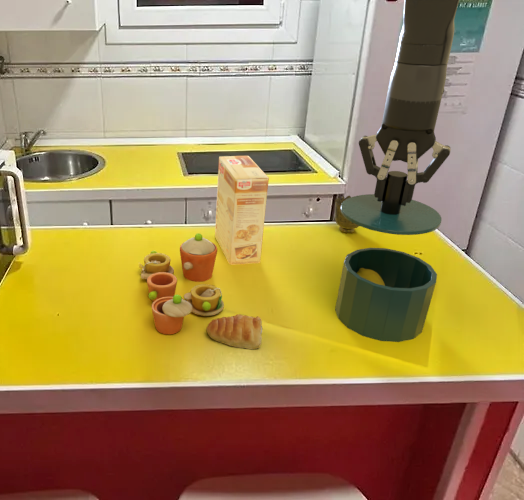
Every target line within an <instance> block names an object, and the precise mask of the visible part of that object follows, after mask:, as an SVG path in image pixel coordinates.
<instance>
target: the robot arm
mask: <svg viewBox="0 0 524 500" xmlns="http://www.w3.org/2000/svg"><path fill="white" fill-rule="evenodd" d="M459 3H460V0H404V2H403V17H402V18H403V19H402V20H403V21H402V26H401V30H400V33H399V34H400V35H399V39H398V43H397V48H396V56H395V61H394V65H393V67H392V71H391V74H390V77H389V82H388V87H387V93H386V99H385V103H384V109H383V114H382V120H381V126H380V128H379V129H378V131H377V132H376V134H372V135H369V136H368V135H363V136H362V137H361V138H360V139H359V140H358V146H359V150H360V154H361V157H362V161H363V164H364V167H365V172H366V173H367V174H368V175H369V176H370V175H371V176H374V177H375V179H376V183H375V189H374V192H373V194H374V195H375V197H376V198H378V200H377V201H379V202H382V200H383V195H384V189H385V184H386V179H387V174H388V172H389V170H390V168H391V165H392V163H393V161H394V162H396V161H397V162H398V161H401V162H403V163H407V165H406V167H407V175H408V176H407V181H406V184H405V188H404V192H403V197H402V202H401V205H403V206H406V203H410V202H411V200H413V197H414V192H415V188H416V185H417V184H420V183H423V184H426V183H428V182H429V181H430V180H431V179H432V177H433V176H434V175H435V174H436V172H438V170H439V169H440V167H442V165H443V164H444V163H445V161H446V160H447V159H448V157H449V156H450V154H451V150H452V149H451V148H452V147H451V146H450V145H448V144H447V145H446V144H445V145H444V144H442V143H440V142H439V141H436V140H437V139H436V134H435V128H436V124H437V120H438V116H439V112H440V108H441V102H442V98H443V95H444V92H445V85H446V81H447V70H448V63H449V60H450V55H451V50H452V47H453V43H454V36H455V18H456V14H457V10H458V6H459ZM376 142H377V143H378V146H379V147H380V149H381V151H382V152H383V155H384V158H383V160H382V163H381V165H380V166H378V165H377V163H376V159H375V155H374V151H373V150H374V148H375V146H376ZM431 149H432V150H433V151H432V153H431V156H432V158H433V159H432V160H431V161H430V163H429V164H428V165H427V166H426V168H425V169H424V170H423V171H421V172H418V171H419V170H418V169H419V159H420V158H421V157H423V156H424V155H425V154H426V153H427V152H428V151H429V150H431Z"/></svg>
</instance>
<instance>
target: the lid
mask: <svg viewBox="0 0 524 500" xmlns="http://www.w3.org/2000/svg"><path fill="white" fill-rule="evenodd" d="M386 177H387V179H386V184H385V189H384V195H383V200H382V202H379V201H377V200H378V198H376V197H375V195H374V193H372V194H371V193H370V194H359V195H355V196H351V198H348V199H346V200H345V201H343V203H342V204H341V213H342V215H343V216H344V217H345V218H346V219H348V220H349V221H351V222H352V223H354V224H356V225H359V227H361V228H364V229H367V230H370V231H374V232H378V233H383V234H390V235H398V236H399V235H400V236H415V235H416V236H417V235H423V234H424V235H425V234H429V233H431V232H434V231H436V230H438V229H439V227H440V226H441V224H442V216H441V214H440V212H438V211H437V210H436V209H434V208H433V207H432V206H430V205H427V204H425V203H423V202H420V201H418V200H414V199H412V200H411V202H410V203H406V206H403V205H401V202H402V197H403V192H404V188H405V184H406V181H407V180H408V173H406V172H404V171H400V170H390V171H388V173H387V176H386Z"/></svg>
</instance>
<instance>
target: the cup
mask: <svg viewBox="0 0 524 500" xmlns="http://www.w3.org/2000/svg"><path fill="white" fill-rule="evenodd" d="M351 197H352V196H351V195H347V196H346V197H345V196H344V195H343V196H341V197H340V196H338V197H336V198H335V199H334V219H335V220H334V221H335V223H336V224H337V225H338V226H339V227H338V231H339V232H341V233H343V234H347V235H348V234H350V235H351V234H353V233H355V232H356V229H357V228H359V227H360V226H359V225H356V224H354V223H352V222H351V221H349V220H348V219H346V218H345V217H344V216H343V215H342V213H341V204H342V203H343V201H345V200H346V199H348V198H351Z"/></svg>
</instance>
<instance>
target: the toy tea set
mask: <svg viewBox="0 0 524 500" xmlns="http://www.w3.org/2000/svg"><path fill="white" fill-rule="evenodd" d="M217 254H218V247H217V245H216V244H215V243H214V242H212V241H211V240H209V239H207V238H206V237H203V235H202V234H201V232H199V233H196V234H195V235H194V236H193V237H191V238H188V239H186V240H185V241H184V242H182V243H181V245H180V246H179V255H180V261H181V269H182V275H183V277H184V278H185V279H186V280H188V281H190V282H195V283H201V282H207V281H208V280H210V279H211V278H212V277H213V273H214V268H215V264H216V259H217V256H218V255H217ZM171 261H172V260H171V257H170V256H169V255H167V254H165V253H162V252H157V250H152V251H150V253H149V254H146V255H145V256H144V258H143V263H144V265H143V264H142V263H141V262H139V261H138V268H139V269H140V279H142V280H146V285H147V288H148V289H147V290H148V298H149V300H151V301H152V303H151V312H152V316H153V321H154V322H153V323H154V327H155V329H156V331H157V332H158V333H160V334H163V335H174V334H175V335H176V334H177V333H179V332H180V331H181V330H182V328H183V323H184V319H185V318H184V317H187V316H188V315H190V314H191V313H193V314H195V315H198V316H202V317H211V316H216V315H218V314H220V313H221V312H223V310H224V307H225V305H224V301H223V300H222V298H223V295H222V294H223V293H222V290H221V288H220V287H217V286H215V285H212V284H207V283H203V284H197V285H195V286H193V287H192V288H191V289H190V292H186V293H184V294H183V298H182V296H181V295H180V294H176V290H177V284H178V278H177V277H176V275H175V274H174V273H175V269H174V267H173V266H171Z"/></svg>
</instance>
